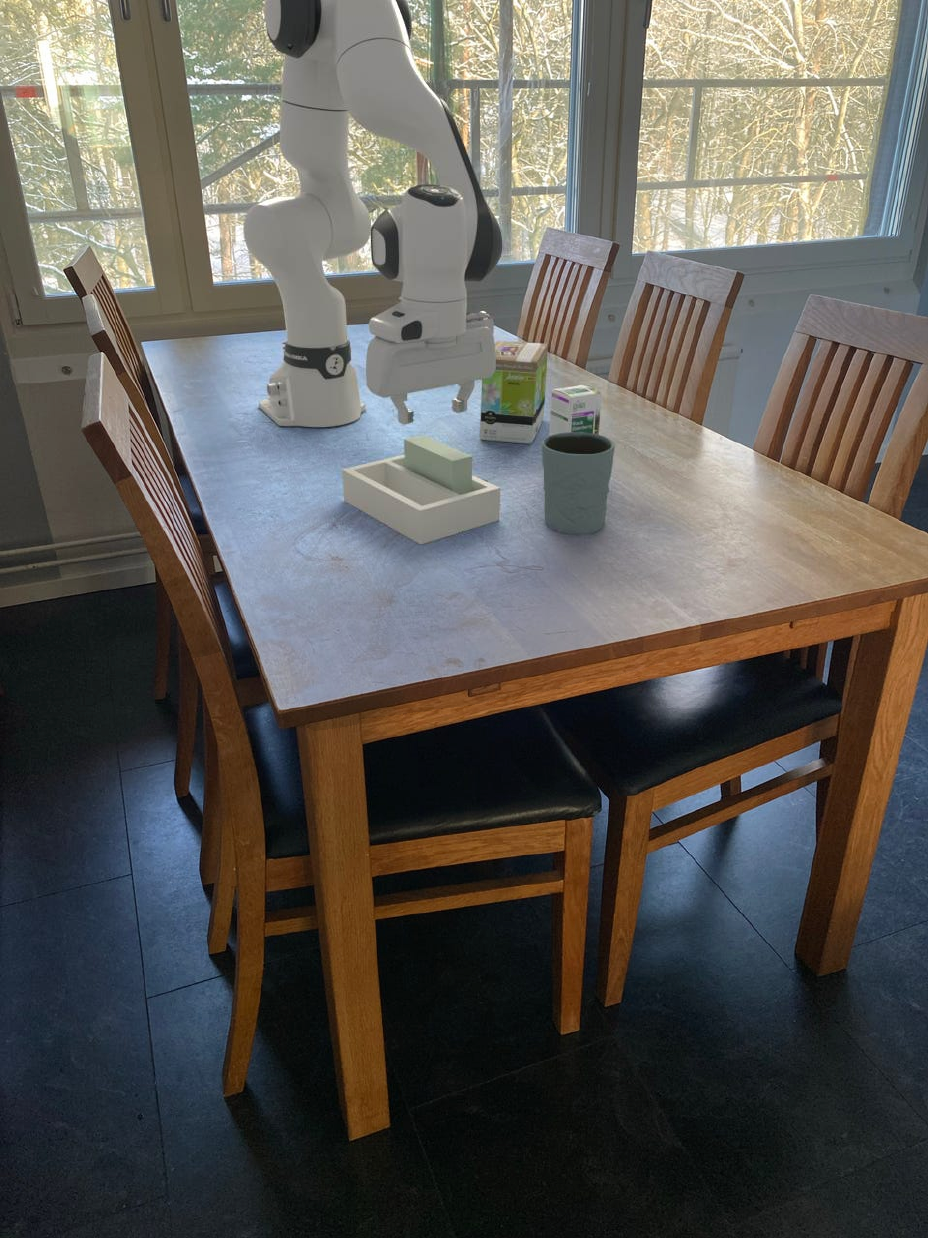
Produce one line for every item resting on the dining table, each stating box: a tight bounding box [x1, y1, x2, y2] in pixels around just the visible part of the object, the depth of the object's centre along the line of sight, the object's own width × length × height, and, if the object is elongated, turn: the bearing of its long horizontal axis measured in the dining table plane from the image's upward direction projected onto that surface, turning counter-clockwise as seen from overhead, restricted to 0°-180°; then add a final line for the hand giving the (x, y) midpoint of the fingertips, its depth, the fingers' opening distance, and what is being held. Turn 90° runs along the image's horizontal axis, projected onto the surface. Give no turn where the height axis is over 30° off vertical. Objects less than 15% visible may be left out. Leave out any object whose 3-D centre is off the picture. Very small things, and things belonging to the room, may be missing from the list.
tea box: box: [479, 340, 549, 444], centre depth 167 cm, size 15×10×15 cm, turn 168°
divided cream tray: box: [341, 454, 501, 545], centre depth 136 cm, size 20×15×5 cm
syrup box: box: [548, 384, 602, 436], centre depth 145 cm, size 6×6×14 cm
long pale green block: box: [403, 434, 473, 495], centre depth 137 cm, size 12×4×8 cm, turn 38°
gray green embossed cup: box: [541, 432, 616, 535], centre depth 131 cm, size 10×10×12 cm
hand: (433, 417), depth 133 cm, fingers open, 8 cm apart
